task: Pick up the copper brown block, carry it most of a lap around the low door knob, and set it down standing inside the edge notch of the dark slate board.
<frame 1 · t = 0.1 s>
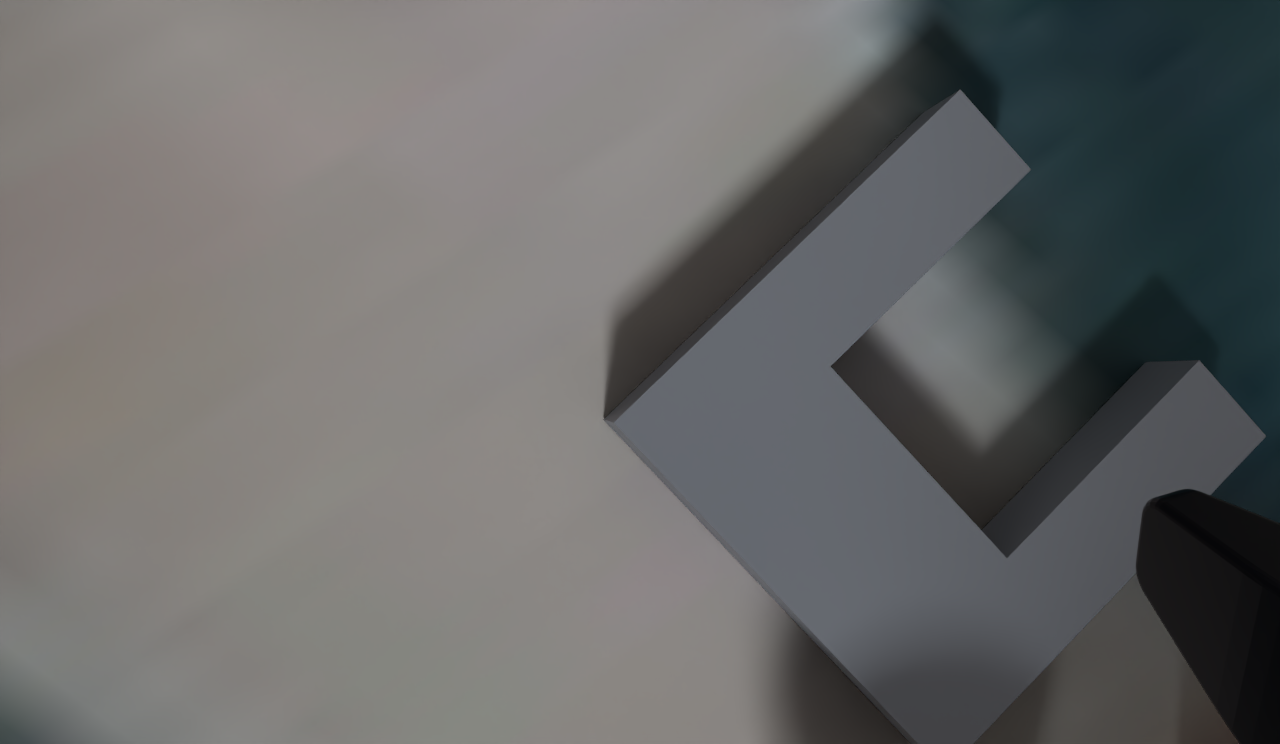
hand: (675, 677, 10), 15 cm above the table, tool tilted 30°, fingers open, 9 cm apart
notched board: (916, 426, 26), on the table
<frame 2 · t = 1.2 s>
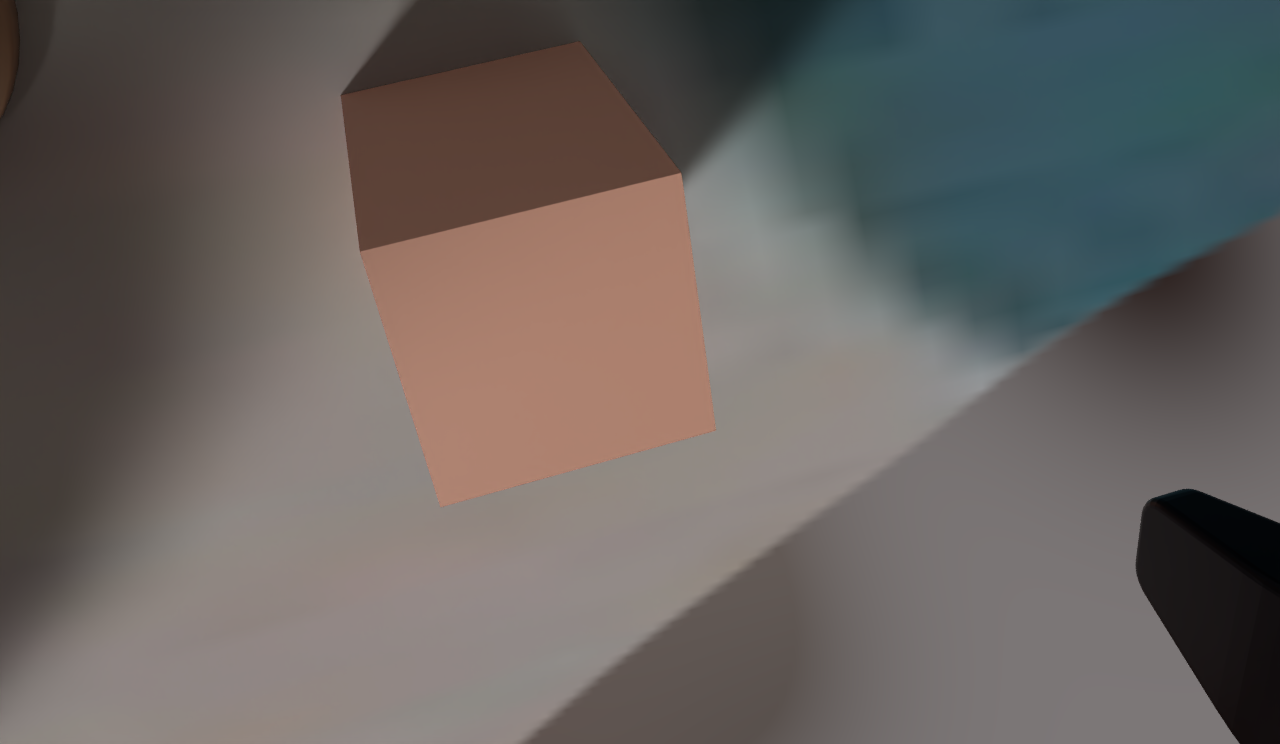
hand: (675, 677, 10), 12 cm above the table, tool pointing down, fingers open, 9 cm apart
copper brown block: (488, 179, 20), on the table
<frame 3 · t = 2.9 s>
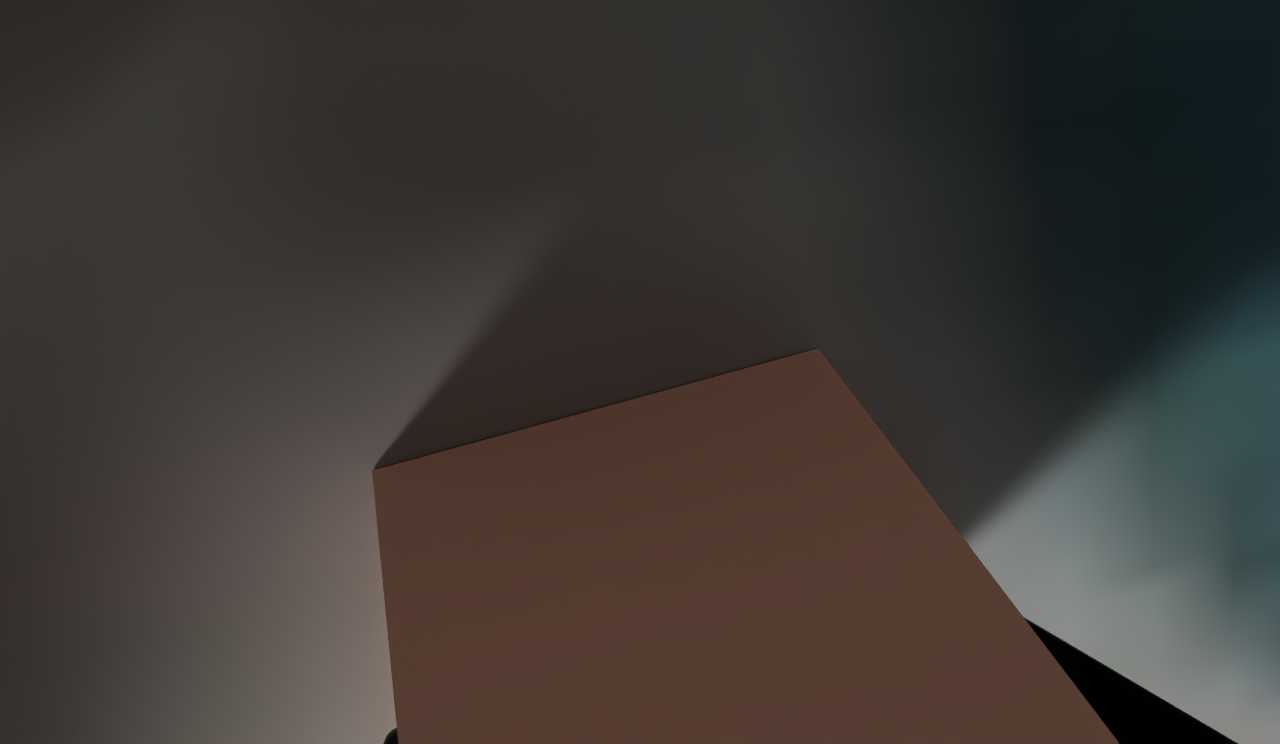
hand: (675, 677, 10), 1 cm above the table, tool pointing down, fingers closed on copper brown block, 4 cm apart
copper brown block: (636, 575, 11), on the table, touching gripper
when the fingers open (3 cm above the table, at t = 7.9 s): copper brown block drops 2 cm, on the table.
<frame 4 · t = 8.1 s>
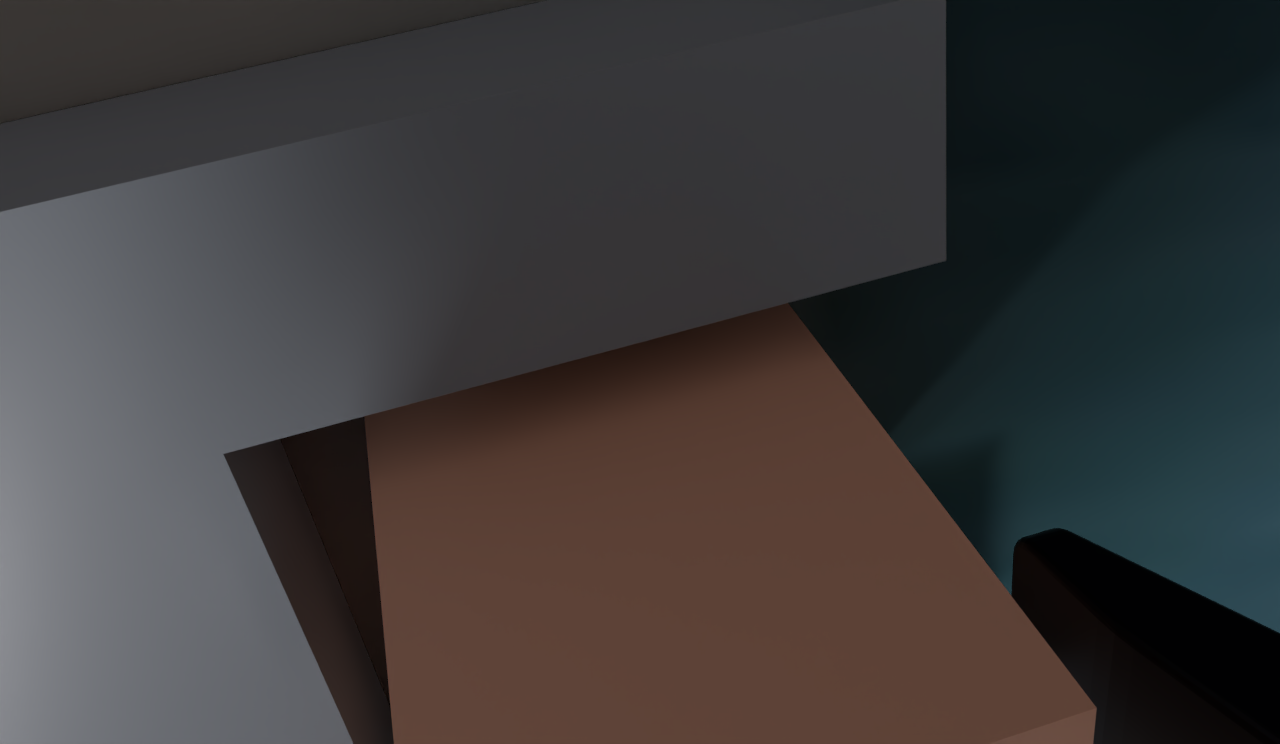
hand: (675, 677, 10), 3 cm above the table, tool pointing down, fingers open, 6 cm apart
notched board: (419, 523, 12), on the table
copper brown block: (596, 465, 12), on the table
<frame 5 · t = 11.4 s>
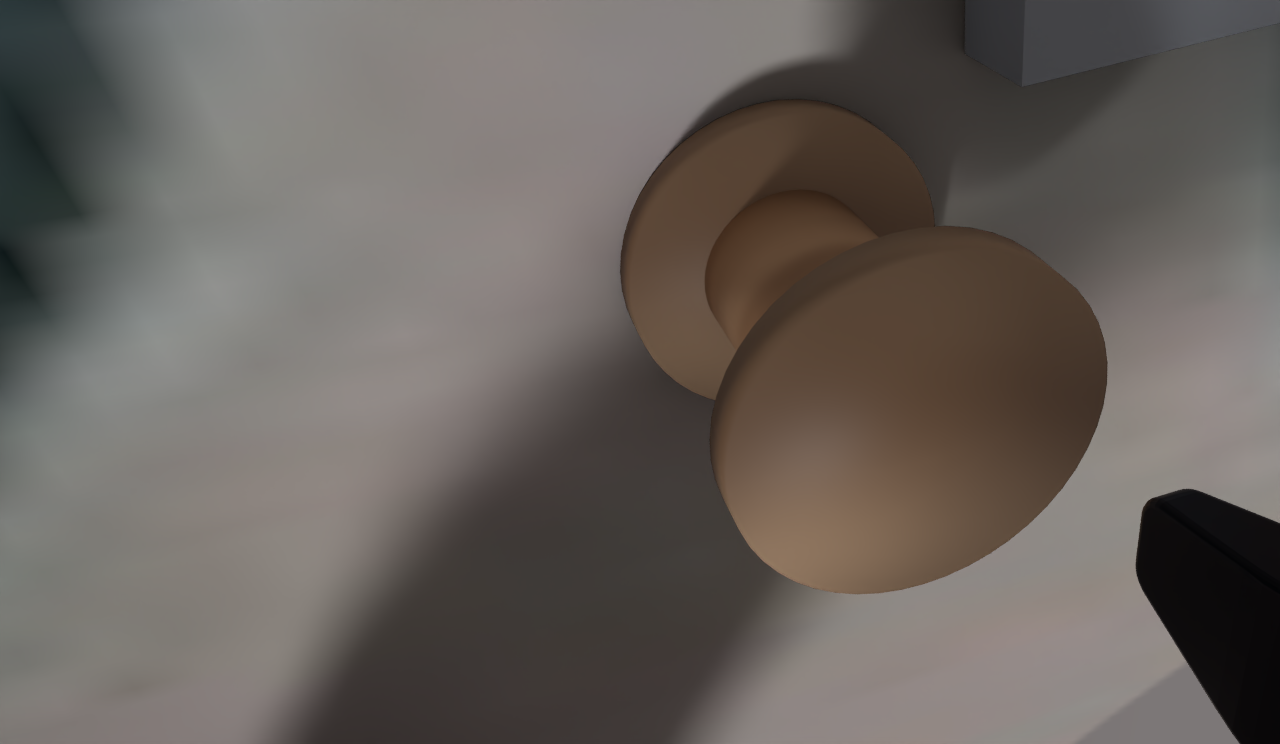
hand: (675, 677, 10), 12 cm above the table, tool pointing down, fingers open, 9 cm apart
door knob: (771, 251, 22), on the table
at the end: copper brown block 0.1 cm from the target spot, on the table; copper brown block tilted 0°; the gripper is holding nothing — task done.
